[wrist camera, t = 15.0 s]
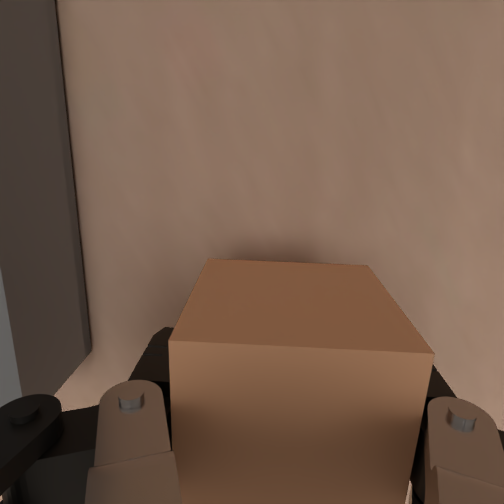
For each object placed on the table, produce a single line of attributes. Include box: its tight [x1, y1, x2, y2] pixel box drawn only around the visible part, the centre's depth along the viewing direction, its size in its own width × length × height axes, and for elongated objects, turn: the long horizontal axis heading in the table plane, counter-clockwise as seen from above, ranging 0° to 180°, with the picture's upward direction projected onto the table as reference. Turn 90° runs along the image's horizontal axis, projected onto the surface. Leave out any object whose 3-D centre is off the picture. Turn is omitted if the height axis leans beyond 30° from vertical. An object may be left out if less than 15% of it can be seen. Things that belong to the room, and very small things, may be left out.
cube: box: [168, 259, 435, 504], centre depth 10 cm, size 5×5×5 cm
